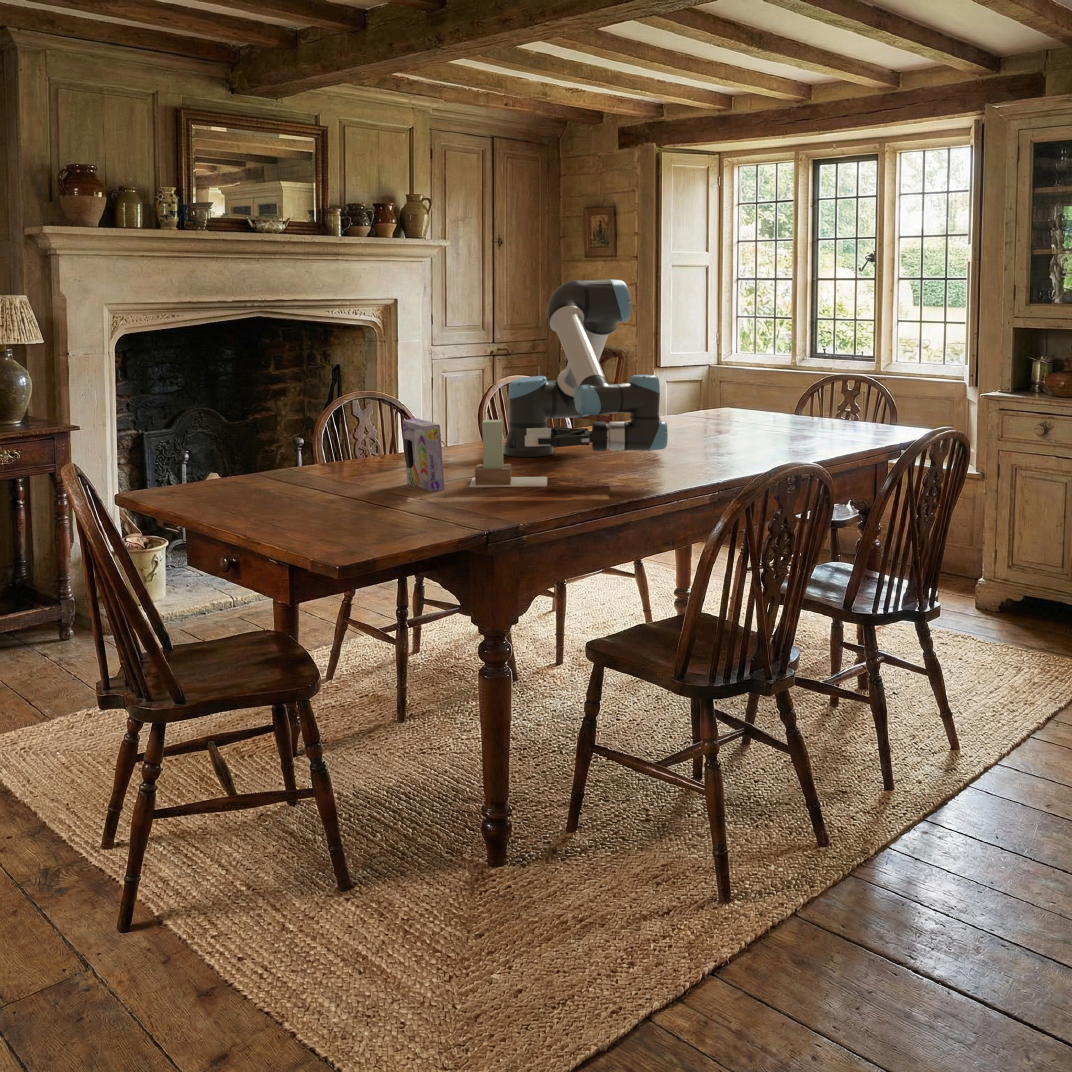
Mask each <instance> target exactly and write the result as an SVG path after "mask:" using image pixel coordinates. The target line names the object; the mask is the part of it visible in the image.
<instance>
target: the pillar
mask: <svg viewBox="0 0 1072 1072" xmlns="http://www.w3.org/2000/svg"><path fill="white" fill-rule="evenodd" d="M503 421H504V420H503V419H483V421H482V424H481V425H482V461H483V463H482V464H483V468H503V464H504V431H503V430H504V429H503V428H504V427H503V424H504V423H503Z"/></svg>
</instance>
